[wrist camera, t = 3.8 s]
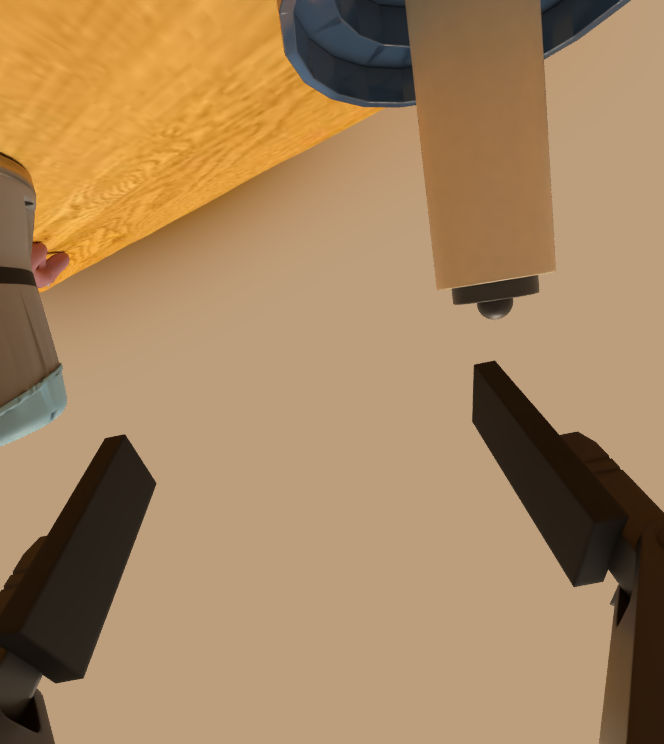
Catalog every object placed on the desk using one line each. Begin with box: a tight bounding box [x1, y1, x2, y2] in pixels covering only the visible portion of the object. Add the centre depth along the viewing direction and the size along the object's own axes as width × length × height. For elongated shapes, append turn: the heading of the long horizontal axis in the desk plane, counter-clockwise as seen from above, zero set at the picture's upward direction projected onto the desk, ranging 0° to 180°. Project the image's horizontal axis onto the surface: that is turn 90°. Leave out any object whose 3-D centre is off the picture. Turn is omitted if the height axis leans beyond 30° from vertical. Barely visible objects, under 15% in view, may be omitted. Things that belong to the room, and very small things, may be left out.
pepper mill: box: [405, 0, 556, 319], centre depth 17 cm, size 5×5×17 cm
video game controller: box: [31, 243, 70, 288], centre depth 61 cm, size 10×5×7 cm, turn 166°
